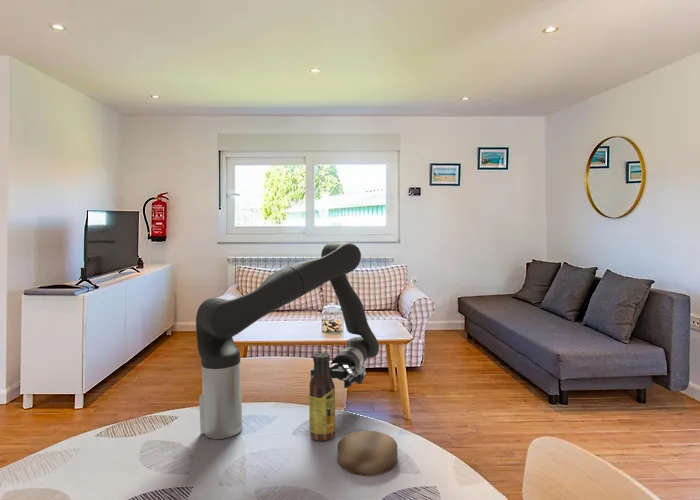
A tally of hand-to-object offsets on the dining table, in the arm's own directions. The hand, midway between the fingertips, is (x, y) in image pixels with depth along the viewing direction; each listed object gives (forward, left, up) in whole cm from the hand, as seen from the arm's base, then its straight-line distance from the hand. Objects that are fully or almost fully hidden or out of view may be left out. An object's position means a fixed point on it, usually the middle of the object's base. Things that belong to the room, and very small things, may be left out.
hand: (329, 382), depth 109 cm
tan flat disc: (+13, -13, -11) cm, 21 cm away
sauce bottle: (0, -6, -11) cm, 13 cm away
